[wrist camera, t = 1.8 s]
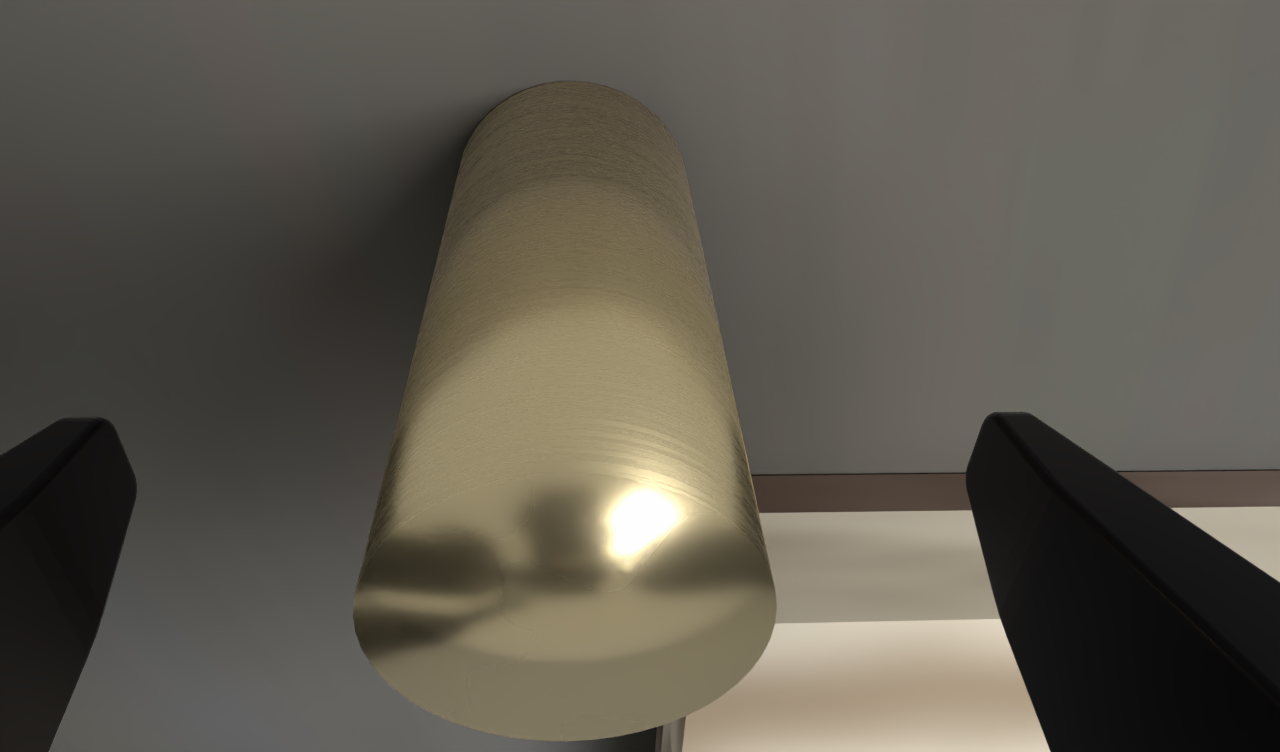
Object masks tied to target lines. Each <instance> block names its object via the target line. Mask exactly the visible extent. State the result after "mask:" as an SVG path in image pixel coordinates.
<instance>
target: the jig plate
mask: <svg viewBox="0 0 1280 752" xmlns="http://www.w3.org/2000/svg"><path fill="white" fill-rule="evenodd" d="M1118 473H1119V474H1121V475H1122V476H1124V477H1125V478H1127V479H1128V480H1130V481H1131V482H1133V483H1134V484H1135V485H1137V486H1138V487H1140V488H1141V489H1143V490H1144V491H1146V492H1147V493H1149V494H1150V495H1152V496H1153V497H1155V498H1156V499H1158V500H1159V501H1161V502H1162V503H1164V504H1165V505H1167V506H1168V507H1169V508H1171V509H1172V510H1174V511H1175V512H1177V513H1178V514H1180V515H1181V516H1183V517H1184V518H1186V519H1187V520H1189V521H1190V522H1192V523H1193V524H1195V525H1196V526H1198V527H1199V528H1201V529H1202V530H1203V531H1205V532H1206V533H1208V534H1209V535H1211V536H1212V537H1214V538H1215V539H1217V540H1218V541H1220V542H1221V543H1223V544H1224V545H1226V546H1227V547H1229V548H1230V549H1232V550H1233V551H1235V552H1236V553H1238V554H1239V555H1240V556H1242V557H1243V558H1245V559H1246V560H1248V561H1249V562H1251V563H1252V564H1254V565H1255V566H1257V567H1258V568H1260V569H1261V570H1263V571H1264V572H1266V573H1267V574H1269V575H1270V576H1272V577H1273V578H1274V579H1276V580H1277V581H1279V582H1280V471H1185V472H1118ZM751 478H752V482H753V487H754V492H755V496H756V501H757V506H758V510H759V515H760V520H761V524H762V529H763V534H764V539H765V543H766V548H767V553H768V557H769V562H770V567H771V571H772V576H773V581H774V585H775V591H776V601H777V611H776V621H775V626H774V629H773V632H772V635H771V639H770V641H769V643H768V645H767V647H766V649H765V651H764V652H763V654H762V656H761V657H760V659H759V660H758V661H757V663H756V664H755V665H754V667H753V668H752V669H751V671H750V672H749V673H748V674H747V675H746V676H745V677H744V678H743V679H742V680H741V681H740V682H739V683H738V684H736V685H735V686H734V687H733V688H731V689H730V690H729V691H728V692H726V693H725V694H724V695H722V696H721V697H719V698H718V699H716V700H715V701H713V702H711V703H710V704H708V705H707V706H705V707H703V708H701V709H699V710H697V711H695V712H693V713H691V714H689V715H687V716H685V717H683V718H680V719H677V720H675V721H672V722H670V723H667V724H664V725H661V726H658V727H657V734H656V745H655V752H1050V749H1049V747H1048V744H1047V741H1046V739H1045V736H1044V734H1043V731H1042V728H1041V726H1040V723H1039V720H1038V718H1037V715H1036V713H1035V710H1034V707H1033V705H1032V702H1031V700H1030V697H1029V694H1028V692H1027V689H1026V686H1025V684H1024V681H1023V679H1022V676H1021V673H1020V671H1019V668H1018V665H1017V663H1016V660H1015V658H1014V655H1013V652H1012V650H1011V647H1010V644H1009V642H1008V639H1007V637H1006V634H1005V631H1004V628H1003V625H1002V622H1001V620H1000V617H999V614H998V610H997V607H996V603H995V600H994V596H993V593H992V589H991V585H990V581H989V577H988V573H987V569H986V565H985V561H984V557H983V553H982V549H981V545H980V541H979V537H978V533H977V530H976V526H975V522H974V518H973V514H972V510H971V506H970V502H969V498H968V494H967V489H966V474H881V475H779V476H751Z"/></svg>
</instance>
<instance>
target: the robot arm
mask: <svg viewBox="0 0 1280 752" xmlns="http://www.w3.org/2000/svg"><path fill="white" fill-rule="evenodd" d="M966 489H967V494H968V498H969V502H970V506H971V510H972V514H973V518H974V522H975V526H976V530H977V533H978V537H979V541H980V545H981V549H982V553H983V557H984V561H985V565H986V569H987V573H988V577H989V581H990V585H991V589H992V593H993V596H994V600H995V603H996V607H997V610H998V614H999V617H1000V620H1001V622H1002V625H1003V628H1004V631H1005V634H1006V637H1007V639H1008V642H1009V644H1010V647H1011V650H1012V652H1013V655H1014V658H1015V660H1016V663H1017V665H1018V668H1019V671H1020V673H1021V676H1022V679H1023V681H1024V684H1025V686H1026V689H1027V692H1028V694H1029V697H1030V700H1031V702H1032V705H1033V707H1034V710H1035V713H1036V715H1037V718H1038V720H1039V723H1040V726H1041V728H1042V731H1043V734H1044V736H1045V739H1046V741H1047V744H1048V747H1049V749H1050V752H1280V582H1279V581H1277V580H1276V579H1274V578H1273V577H1272V576H1270V575H1269V574H1267V573H1266V572H1264V571H1263V570H1261V569H1260V568H1258V567H1257V566H1255V565H1254V564H1252V563H1251V562H1249V561H1248V560H1246V559H1245V558H1243V557H1242V556H1240V555H1239V554H1238V553H1236V552H1235V551H1233V550H1232V549H1230V548H1229V547H1227V546H1226V545H1224V544H1223V543H1221V542H1220V541H1218V540H1217V539H1215V538H1214V537H1212V536H1211V535H1209V534H1208V533H1206V532H1205V531H1203V530H1202V529H1201V528H1199V527H1198V526H1196V525H1195V524H1193V523H1192V522H1190V521H1189V520H1187V519H1186V518H1184V517H1183V516H1181V515H1180V514H1178V513H1177V512H1175V511H1174V510H1172V509H1171V508H1169V507H1168V506H1167V505H1165V504H1164V503H1162V502H1161V501H1159V500H1158V499H1156V498H1155V497H1153V496H1152V495H1150V494H1149V493H1147V492H1146V491H1144V490H1143V489H1141V488H1140V487H1138V486H1137V485H1135V484H1134V483H1133V482H1131V481H1130V480H1128V479H1127V478H1125V477H1124V476H1122V475H1121V474H1119V473H1118V472H1116V471H1115V470H1113V469H1112V468H1110V467H1109V466H1107V465H1106V464H1104V463H1103V462H1101V461H1100V460H1098V459H1097V458H1096V457H1094V456H1093V455H1091V454H1090V453H1088V452H1087V451H1085V450H1084V449H1082V448H1081V447H1079V446H1078V445H1076V444H1075V443H1073V442H1072V441H1070V440H1069V439H1067V438H1066V437H1064V436H1063V435H1062V434H1060V433H1059V432H1057V431H1056V430H1054V429H1053V428H1051V427H1050V426H1048V425H1047V424H1045V423H1044V422H1042V421H1041V420H1039V419H1038V418H1036V417H1035V416H1033V415H1031V414H1029V413H1026V412H994V413H992V414H990V415H988V416H987V417H986V418H985V420H984V422H983V424H982V426H981V429H980V432H979V435H978V438H977V441H976V443H975V446H974V449H973V452H972V455H971V458H970V460H969V463H968V466H967V470H966ZM136 494H137V484H136V478H135V475H134V472H133V470H132V467H131V465H130V462H129V460H128V458H127V455H126V453H125V451H124V448H123V446H122V443H121V441H120V439H119V436H118V434H117V431H116V429H115V428H114V426H113V424H112V423H111V422H110V421H108V420H107V419H104V418H100V417H79V418H63V419H60V420H58V421H56V422H55V423H53V424H51V425H50V426H48V427H46V428H45V429H43V430H41V431H40V432H38V433H37V434H35V435H33V436H32V437H30V438H28V439H27V440H25V441H24V442H22V443H20V444H19V445H17V446H15V447H14V448H12V449H11V450H9V451H7V452H6V453H4V454H2V455H1V456H0V752H48V751H49V749H50V746H51V744H52V741H53V739H54V737H55V734H56V732H57V729H58V727H59V725H60V722H61V720H62V717H63V715H64V713H65V710H66V708H67V705H68V703H69V701H70V698H71V696H72V693H73V691H74V689H75V686H76V684H77V681H78V679H79V677H80V674H81V672H82V670H83V667H84V665H85V662H86V660H87V658H88V655H89V652H90V650H91V647H92V645H93V642H94V640H95V637H96V634H97V632H98V628H99V625H100V622H101V619H102V616H103V613H104V610H105V606H106V603H107V599H108V596H109V592H110V589H111V585H112V582H113V578H114V575H115V571H116V567H117V564H118V560H119V557H120V553H121V550H122V546H123V543H124V539H125V536H126V532H127V529H128V525H129V522H130V518H131V515H132V511H133V508H134V504H135V500H136Z"/></svg>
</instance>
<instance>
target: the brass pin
mask: <svg viewBox="0 0 1280 752" xmlns="http://www.w3.org/2000/svg"><path fill="white" fill-rule="evenodd" d="M776 611H777V601H776V591H775V585H774V581H773V576H772V571H771V567H770V562H769V557H768V553H767V548H766V543H765V539H764V534H763V529H762V524H761V520H760V515H759V510H758V506H757V501H756V496H755V492H754V487H753V482H752V478H751V473H750V468H749V464H748V459H747V454H746V450H745V445H744V440H743V436H742V431H741V426H740V422H739V417H738V412H737V408H736V403H735V398H734V393H733V389H732V384H731V379H730V375H729V370H728V365H727V361H726V356H725V351H724V347H723V342H722V337H721V333H720V328H719V323H718V319H717V314H716V309H715V305H714V300H713V295H712V291H711V286H710V281H709V276H708V272H707V267H706V262H705V258H704V253H703V248H702V244H701V239H700V234H699V230H698V225H697V220H696V216H695V211H694V206H693V202H692V197H691V192H690V188H689V183H688V178H687V174H686V169H685V165H684V162H683V158H682V155H681V152H680V150H679V148H678V146H677V143H676V141H675V140H674V138H673V136H672V135H671V133H670V132H669V130H668V129H667V127H666V126H665V125H664V124H663V123H662V122H661V120H660V119H659V118H658V117H657V116H656V115H655V114H654V113H653V112H652V111H650V110H649V109H648V108H647V107H646V106H644V105H643V104H641V103H640V102H638V101H637V100H636V99H634V98H632V97H630V96H628V95H626V94H624V93H622V92H620V91H618V90H615V89H612V88H609V87H607V86H603V85H598V84H594V83H589V82H577V81H565V82H553V83H548V84H542V85H538V86H535V87H532V88H529V89H526V90H524V91H522V92H519V93H517V94H515V95H513V96H511V97H510V98H508V99H507V100H505V101H503V102H502V103H500V104H499V105H498V106H497V107H495V108H494V109H493V110H492V111H491V112H490V113H489V114H487V115H486V117H485V118H484V119H483V120H482V121H481V122H480V124H479V125H478V126H477V127H476V129H475V131H474V132H473V134H472V135H471V137H470V139H469V141H468V143H467V145H466V148H465V150H464V152H463V156H462V160H461V163H460V167H459V171H458V175H457V179H456V183H455V187H454V192H453V196H452V200H451V204H450V208H449V212H448V216H447V220H446V224H445V228H444V232H443V236H442V240H441V245H440V249H439V253H438V257H437V261H436V265H435V269H434V273H433V277H432V281H431V285H430V289H429V293H428V298H427V302H426V306H425V310H424V314H423V318H422V322H421V326H420V330H419V334H418V338H417V342H416V346H415V351H414V355H413V359H412V363H411V367H410V371H409V375H408V379H407V383H406V387H405V391H404V395H403V400H402V404H401V408H400V412H399V416H398V420H397V424H396V428H395V432H394V436H393V440H392V444H391V448H390V453H389V457H388V461H387V465H386V469H385V473H384V477H383V481H382V485H381V489H380V493H379V497H378V501H377V506H376V510H375V514H374V518H373V522H372V526H371V530H370V534H369V538H368V542H367V546H366V550H365V554H364V559H363V563H362V567H361V571H360V575H359V579H358V583H357V587H356V591H355V595H354V607H353V618H354V625H355V632H356V635H357V637H358V640H359V643H360V646H361V648H362V650H363V652H364V654H365V655H366V657H367V659H368V660H369V662H370V664H371V665H372V666H373V668H374V669H375V670H376V671H377V672H378V674H379V675H380V676H381V677H382V678H383V679H384V680H385V681H386V682H387V683H388V684H389V685H390V686H391V687H393V688H394V689H395V690H396V691H397V692H398V693H400V694H401V695H402V696H404V697H405V698H407V699H408V700H410V701H411V702H413V703H414V704H416V705H417V706H419V707H421V708H423V709H425V710H427V711H428V712H430V713H432V714H434V715H436V716H439V717H441V718H443V719H446V720H448V721H451V722H453V723H456V724H459V725H462V726H465V727H468V728H471V729H474V730H478V731H482V732H486V733H491V734H495V735H499V736H506V737H512V738H519V739H528V740H540V741H581V740H595V739H603V738H610V737H617V736H622V735H627V734H632V733H636V732H641V731H644V730H648V729H651V728H655V727H658V726H661V725H664V724H667V723H670V722H672V721H675V720H677V719H680V718H683V717H685V716H687V715H689V714H691V713H693V712H695V711H697V710H699V709H701V708H703V707H705V706H707V705H708V704H710V703H711V702H713V701H715V700H716V699H718V698H719V697H721V696H722V695H724V694H725V693H726V692H728V691H729V690H730V689H731V688H733V687H734V686H735V685H736V684H738V683H739V682H740V681H741V680H742V679H743V678H744V677H745V676H746V675H747V674H748V673H749V672H750V671H751V669H752V668H753V667H754V665H755V664H756V663H757V661H758V660H759V659H760V657H761V656H762V654H763V652H764V651H765V649H766V647H767V645H768V643H769V641H770V639H771V635H772V632H773V629H774V626H775V621H776Z"/></svg>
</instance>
